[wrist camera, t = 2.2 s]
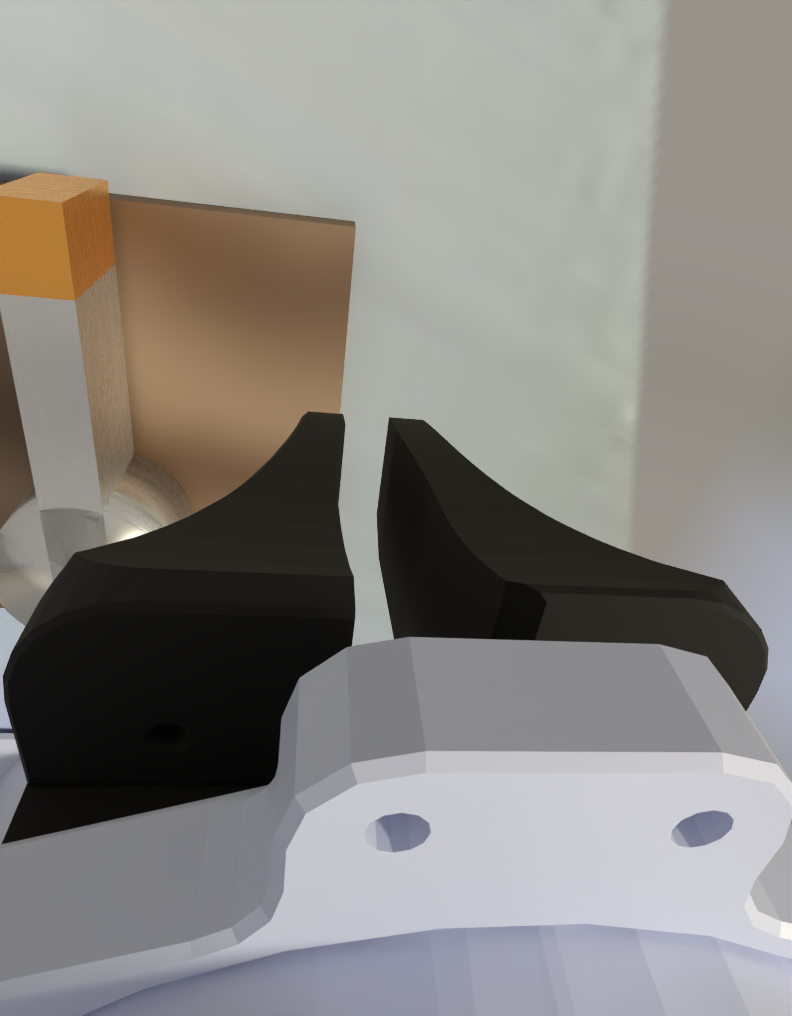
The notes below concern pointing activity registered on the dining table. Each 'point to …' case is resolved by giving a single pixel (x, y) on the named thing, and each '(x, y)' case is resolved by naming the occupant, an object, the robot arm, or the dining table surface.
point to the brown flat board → (214, 339)
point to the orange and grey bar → (69, 387)
